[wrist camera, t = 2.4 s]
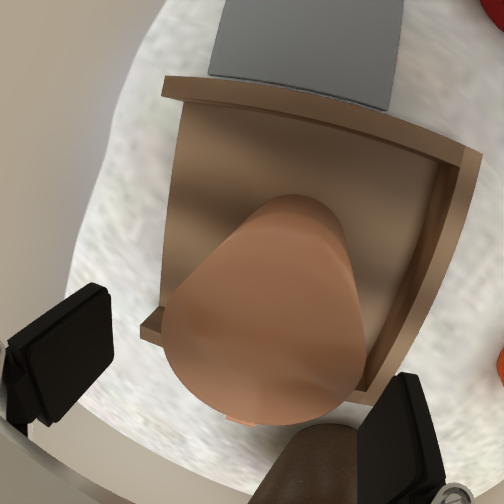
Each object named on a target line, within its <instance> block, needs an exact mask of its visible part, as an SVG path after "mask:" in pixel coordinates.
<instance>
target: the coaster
mask: <svg viewBox="0 0 504 504" xmlns="http://www.w3.org/2000/svg"><path fill="white" fill-rule="evenodd" d="M403 2H404V0H226V2H225V5H224V9H223V12H222V16H221V20H220V24H219V28H218V32H217V35H216V39H215V44H214V48H213V52H212V56H211V60H210V65H209V69H208V74H209V75H210V76H219V77H228V78H237V79H245V80H252V81H259V82H265V83H271V84H277V85H283V86H288V87H293V88H298V89H303V90H308V91H313V92H317V93H321V94H326V95H330V96H334V97H338V98H341V99H345V100H349V101H353V102H356V103H360V104H363V105H367V106H370V107H373V108H376V109H380V110H383V111H387V110H388V106H389V101H390V96H391V90H392V85H393V79H394V73H395V67H396V60H397V53H398V46H399V39H400V31H401V22H402V12H403Z"/></svg>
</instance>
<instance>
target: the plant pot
mask: <svg viewBox="0 0 504 504" xmlns="http://www.w3.org/2000/svg"><path fill="white" fill-rule="evenodd" d="M356 435H357V431H356V430H355V429H353V428H350V427H347V426H343V425H336V424H324V425H316V426H312V427H309V428H306V429H304V430H302V431H300V432H299V433H297V434H296V435H295V436H294V437H293V438H292V440H291V441H290V442H289V444H288V445H287V446H286V448H285V449H284V451H283V452H282V453H281V455H280V456H279V458H278V459H277V460H276V462H275V463H274V465H273V466H272V468H271V469H270V470H269V472H268V473H267V475H266V476H265V478H264V479H263V481H262V482H261V484H260V485H259V487H258V488H257V490H256V491H255V493H254V495H253V496H252V498H251V499H250V501H249V503H248V504H357V444H356Z"/></svg>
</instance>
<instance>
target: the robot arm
mask: <svg viewBox="0 0 504 504" xmlns="http://www.w3.org/2000/svg"><path fill="white" fill-rule="evenodd" d="M7 341H8V345H9V346H8V347H7V348H5V346H4V344H3V343H2V342H1V341H0V504H135V503H133V502H131V501H129V500H127V499H125V498H122V497H120V496H118V495H116V494H114V493H112V492H111V491H109V490H107V489H105V488H103V487H101V486H99V485H98V484H96V483H94V482H92V481H90V480H89V479H87V478H85V477H84V476H82V475H80V474H79V473H77V472H75V471H74V470H72V469H71V468H69V467H67V466H66V465H65V464H63V463H62V462H60V461H58V460H57V459H56V458H54V457H53V456H51V455H50V454H48V453H47V452H46V451H44V450H43V449H42V448H40V447H39V446H37V445H36V444H35V443H34V442H33V421H34V420H35V419H36V418H37V419H38V420H39V421H40V422H42V423H43V424H44V425H46V426H47V427H50V426H51V424H52V423H53V422H54V423H57V422H58V421H60V420H61V418H62V417H63V416H64V415H65V414H66V413H67V412H68V411H69V409H70V408H71V407H72V406H73V405H74V404H75V403H76V402H77V400H78V399H79V398H80V397H81V396H82V395H83V394H84V393H85V392H86V390H87V389H88V388H89V387H90V386H91V385H92V384H93V383H94V382H95V380H96V379H97V378H98V377H99V376H100V375H101V374H102V373H103V372H104V371H105V369H106V368H107V367H108V366H109V365H110V364H111V363H112V361H113V358H114V345H113V331H112V311H111V295H110V294H109V293H108V290H107V288H105V287H103V286H100V285H98V284H96V283H92V282H91V283H89V284H87V285H86V286H84V287H83V288H81V289H80V290H78V291H77V292H75V293H74V294H72V295H71V296H69V297H68V298H66V299H65V300H63V301H62V302H60V303H59V304H57V305H56V306H55V307H53V308H52V309H50V310H49V311H47V312H46V313H45V314H43V315H42V316H40V317H39V318H38V319H36V320H35V321H33V322H32V323H30V324H29V325H28V326H26V327H25V328H24V329H22V330H21V331H19V332H18V333H17V334H15V335H14V336H13V337H11V338H10V339H9V340H7ZM356 444H357V504H475V500H474V497H473V494H472V493H471V491H470V490H469V489H468V488H467V487H466V486H464V485H462V484H460V483H449V484H447V485H446V482H445V479H446V475H445V470H444V466H443V461H442V457H441V453H440V449H439V445H438V441H437V437H436V433H435V430H434V426H433V422H432V419H431V415H430V412H429V409H428V405H427V402H426V399H425V396H424V392H423V389H422V386H421V383H420V380H419V377H418V375H416V374H411V373H405V372H400V373H399V374H398V375H397V376H393V377H392V378H391V379H390V381H389V383H388V384H387V386H386V388H385V389H384V391H383V393H382V394H381V396H380V397H379V399H378V400H377V402H376V403H375V405H374V406H373V408H372V410H371V411H370V412H369V414H368V415H367V417H366V418H365V420H364V421H363V423H362V424H361V426H360V427H359V429H358V431H357V435H356Z"/></svg>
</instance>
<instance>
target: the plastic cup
mask: <svg viewBox="0 0 504 504" xmlns="http://www.w3.org/2000/svg"><path fill="white" fill-rule="evenodd" d="M480 2H481V4H482V6H483V7H484V9H485V11H486V12H487V14H488V16H489V17H490V18H491V19H492V20H493V22H494V23H495V24H496V25H497V26H498V28H500V29H501V30H502V31H503V32H504V0H480Z"/></svg>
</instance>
